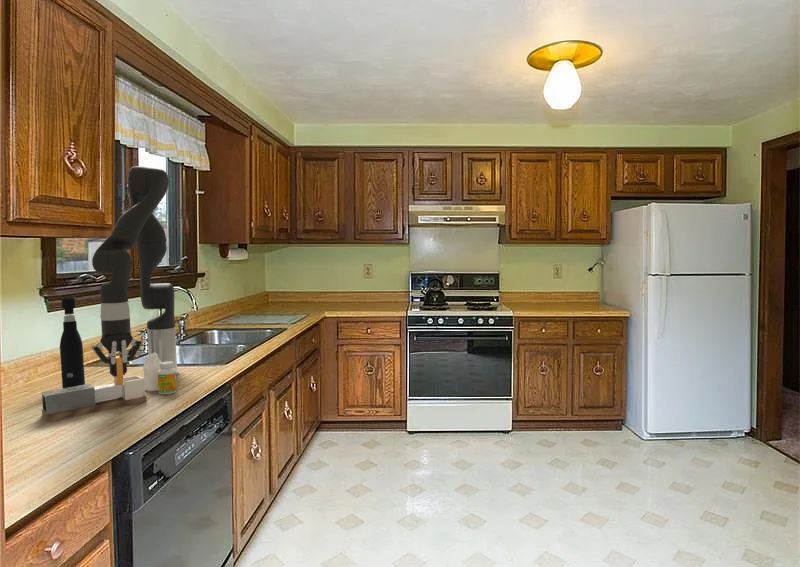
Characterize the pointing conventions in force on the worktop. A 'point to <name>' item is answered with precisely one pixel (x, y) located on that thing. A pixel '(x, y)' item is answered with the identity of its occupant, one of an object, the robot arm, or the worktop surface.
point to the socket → (133, 387)
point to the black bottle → (71, 348)
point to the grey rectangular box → (68, 399)
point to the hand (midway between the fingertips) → (118, 375)
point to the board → (95, 408)
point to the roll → (151, 372)
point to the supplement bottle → (167, 378)
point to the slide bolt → (112, 385)
